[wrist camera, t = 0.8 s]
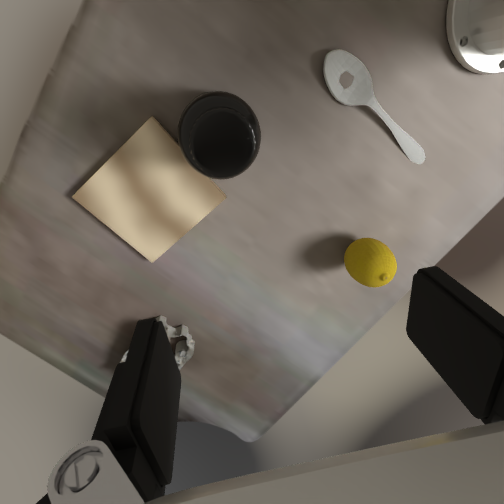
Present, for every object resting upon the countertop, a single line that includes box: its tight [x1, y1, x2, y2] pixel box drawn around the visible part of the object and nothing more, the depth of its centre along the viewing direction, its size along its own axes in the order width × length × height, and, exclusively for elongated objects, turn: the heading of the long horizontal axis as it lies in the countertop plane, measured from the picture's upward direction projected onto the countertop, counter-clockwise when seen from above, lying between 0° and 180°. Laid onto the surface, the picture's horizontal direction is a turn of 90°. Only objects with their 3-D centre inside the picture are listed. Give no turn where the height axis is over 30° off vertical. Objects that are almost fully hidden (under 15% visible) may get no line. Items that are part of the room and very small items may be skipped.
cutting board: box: [72, 116, 226, 263], centre depth 34 cm, size 12×11×1 cm
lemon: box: [344, 238, 397, 287], centre depth 38 cm, size 6×6×8 cm
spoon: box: [323, 49, 425, 164], centre depth 34 cm, size 4×21×2 cm, turn 52°
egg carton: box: [120, 315, 195, 370], centre depth 42 cm, size 11×8×4 cm
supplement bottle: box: [178, 91, 261, 179], centre depth 27 cm, size 7×7×12 cm
